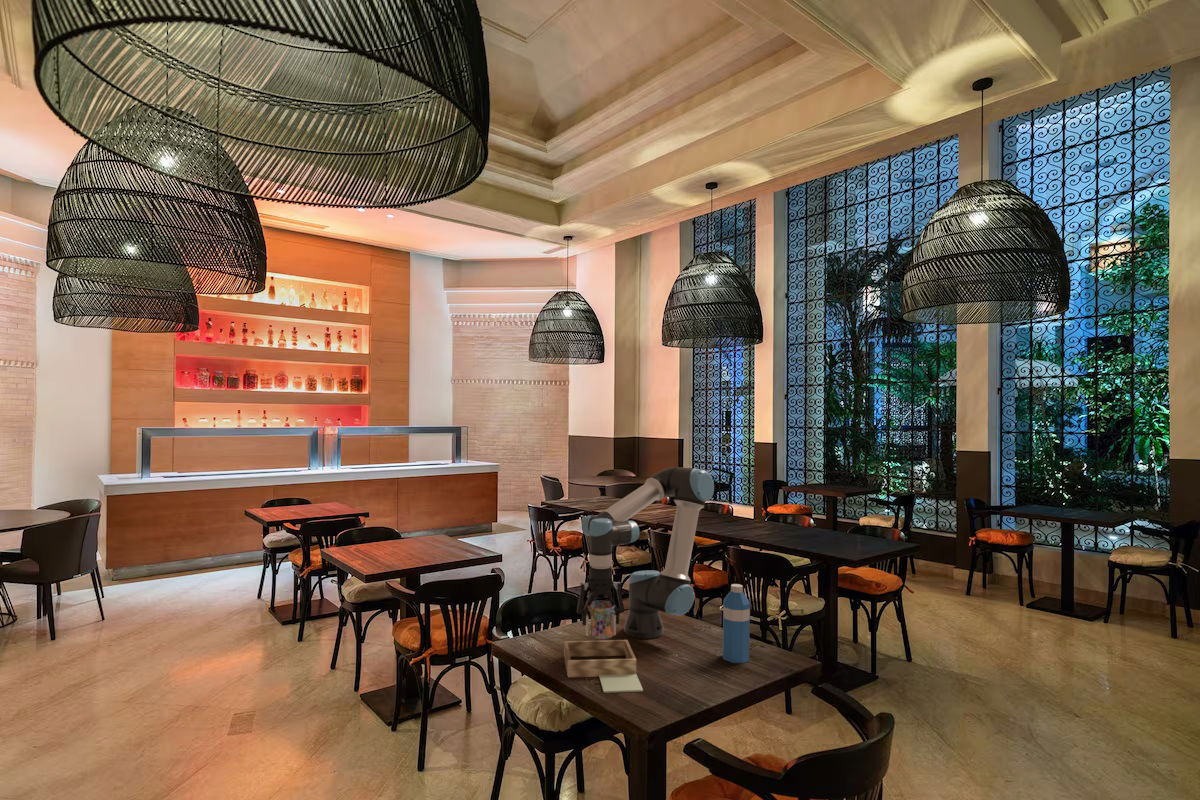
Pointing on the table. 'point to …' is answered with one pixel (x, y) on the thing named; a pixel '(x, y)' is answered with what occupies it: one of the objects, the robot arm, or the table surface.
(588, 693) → the table surface
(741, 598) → the water bottle
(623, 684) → the mat
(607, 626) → the mug
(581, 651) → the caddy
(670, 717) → the table surface
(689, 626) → the table surface
